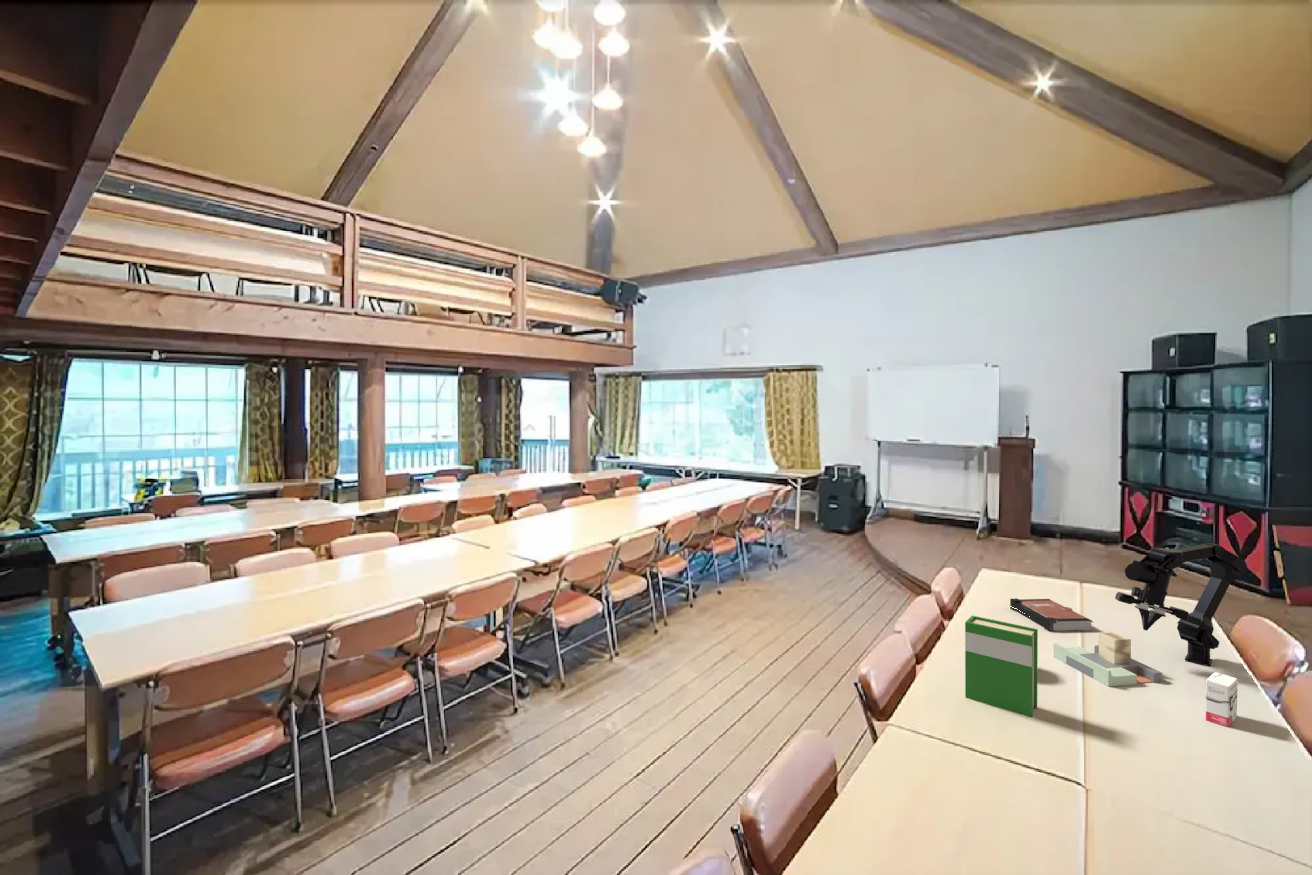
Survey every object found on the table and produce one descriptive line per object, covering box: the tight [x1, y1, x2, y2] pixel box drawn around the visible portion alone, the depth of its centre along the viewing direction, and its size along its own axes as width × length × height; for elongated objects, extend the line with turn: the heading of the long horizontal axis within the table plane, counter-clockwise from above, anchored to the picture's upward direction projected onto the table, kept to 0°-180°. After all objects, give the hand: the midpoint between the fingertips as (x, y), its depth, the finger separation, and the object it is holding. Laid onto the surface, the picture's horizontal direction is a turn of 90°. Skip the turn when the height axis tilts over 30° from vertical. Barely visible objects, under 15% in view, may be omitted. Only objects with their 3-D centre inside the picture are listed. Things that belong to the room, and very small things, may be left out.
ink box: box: [1205, 671, 1239, 728], centre depth 163 cm, size 8×5×12 cm, turn 123°
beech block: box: [1098, 631, 1132, 664], centre depth 195 cm, size 6×6×8 cm
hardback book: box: [964, 615, 1039, 718], centre depth 175 cm, size 18×7×24 cm, turn 46°
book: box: [1009, 598, 1094, 633], centre depth 240 cm, size 26×18×5 cm
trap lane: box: [1053, 642, 1163, 687], centre depth 195 cm, size 19×22×5 cm
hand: (1145, 630), depth 196 cm, fingers closed
